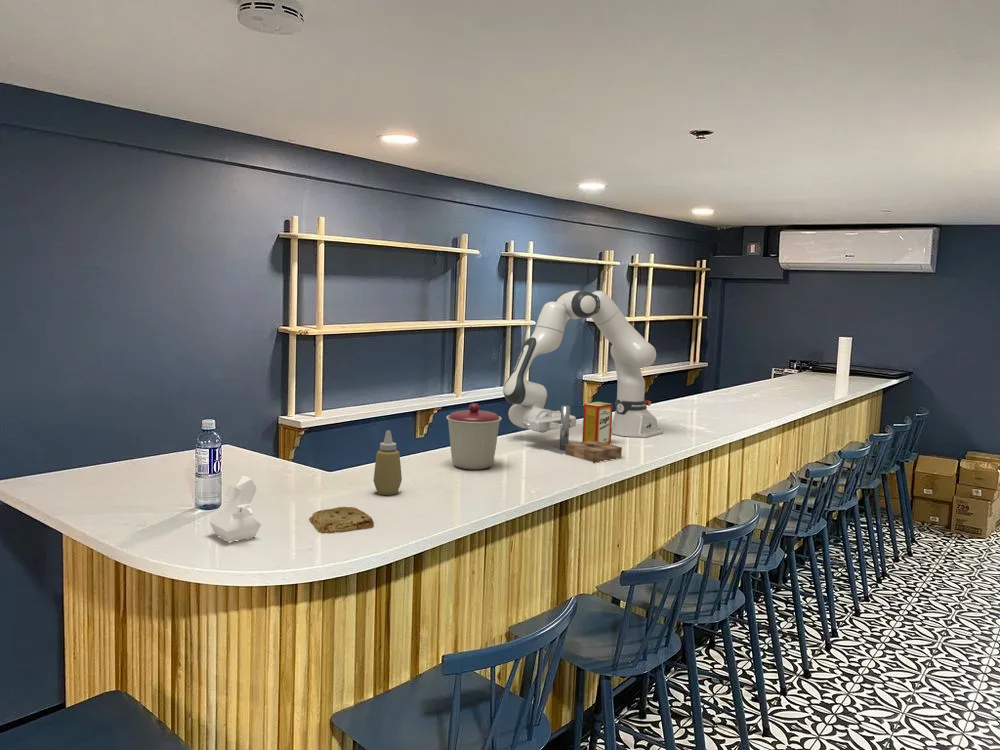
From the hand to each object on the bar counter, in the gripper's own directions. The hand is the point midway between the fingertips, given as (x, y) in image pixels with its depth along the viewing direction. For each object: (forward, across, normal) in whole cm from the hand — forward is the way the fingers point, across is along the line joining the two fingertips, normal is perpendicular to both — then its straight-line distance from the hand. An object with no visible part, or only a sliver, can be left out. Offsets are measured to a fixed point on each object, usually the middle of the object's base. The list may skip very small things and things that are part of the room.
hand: (566, 426), depth 288 cm
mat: (-1, 0, +9) cm, 9 cm away
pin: (-1, 0, +9) cm, 9 cm away
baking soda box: (-3, +19, +10) cm, 21 cm away
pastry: (+32, -107, +10) cm, 112 cm away
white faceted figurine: (+28, -132, +9) cm, 135 cm away
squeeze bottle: (+14, -83, +9) cm, 85 cm away
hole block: (+12, +2, +9) cm, 15 cm away
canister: (+1, -43, +9) cm, 44 cm away
